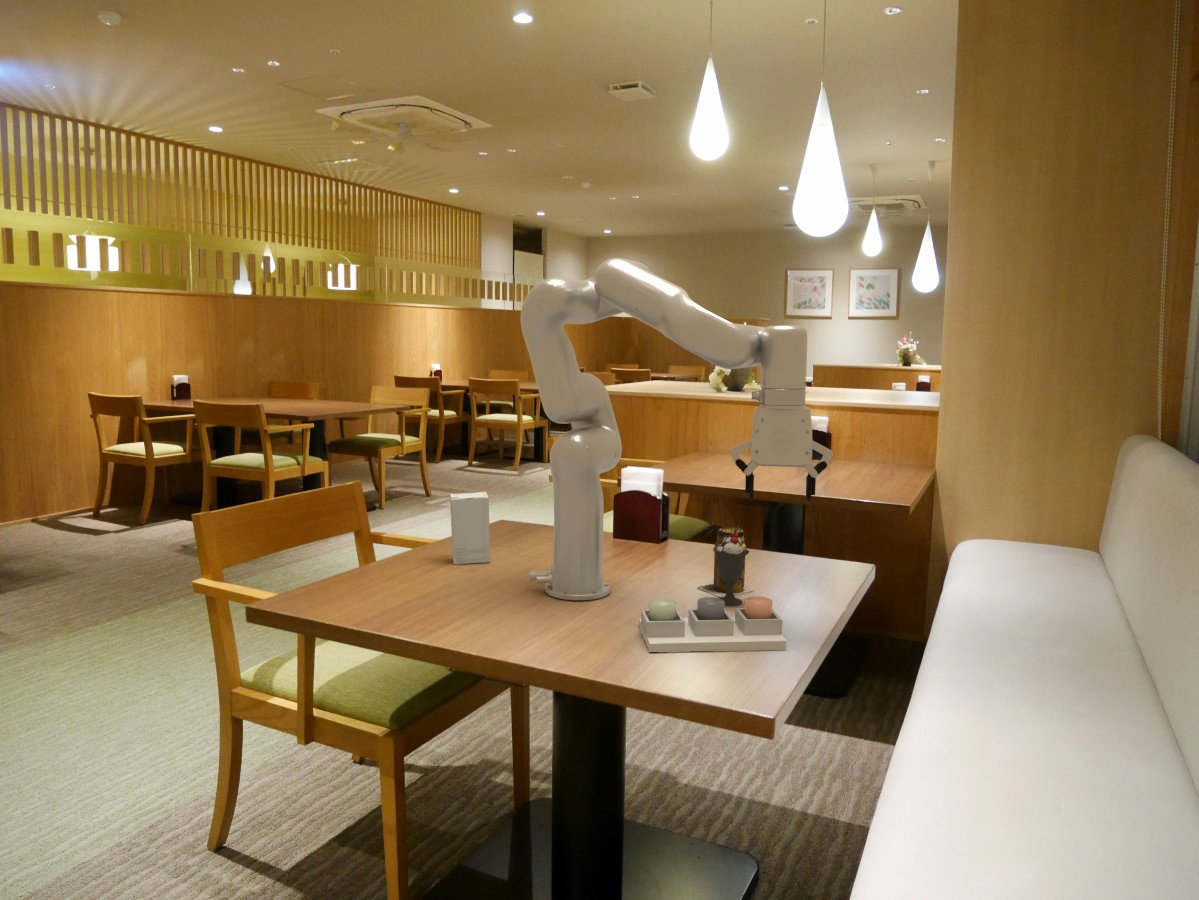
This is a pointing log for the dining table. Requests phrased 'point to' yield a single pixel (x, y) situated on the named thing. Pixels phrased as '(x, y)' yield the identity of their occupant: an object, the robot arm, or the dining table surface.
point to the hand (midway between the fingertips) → (779, 498)
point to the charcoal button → (710, 608)
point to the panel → (712, 633)
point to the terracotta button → (758, 608)
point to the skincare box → (470, 527)
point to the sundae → (731, 565)
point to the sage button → (662, 609)
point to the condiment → (719, 586)
